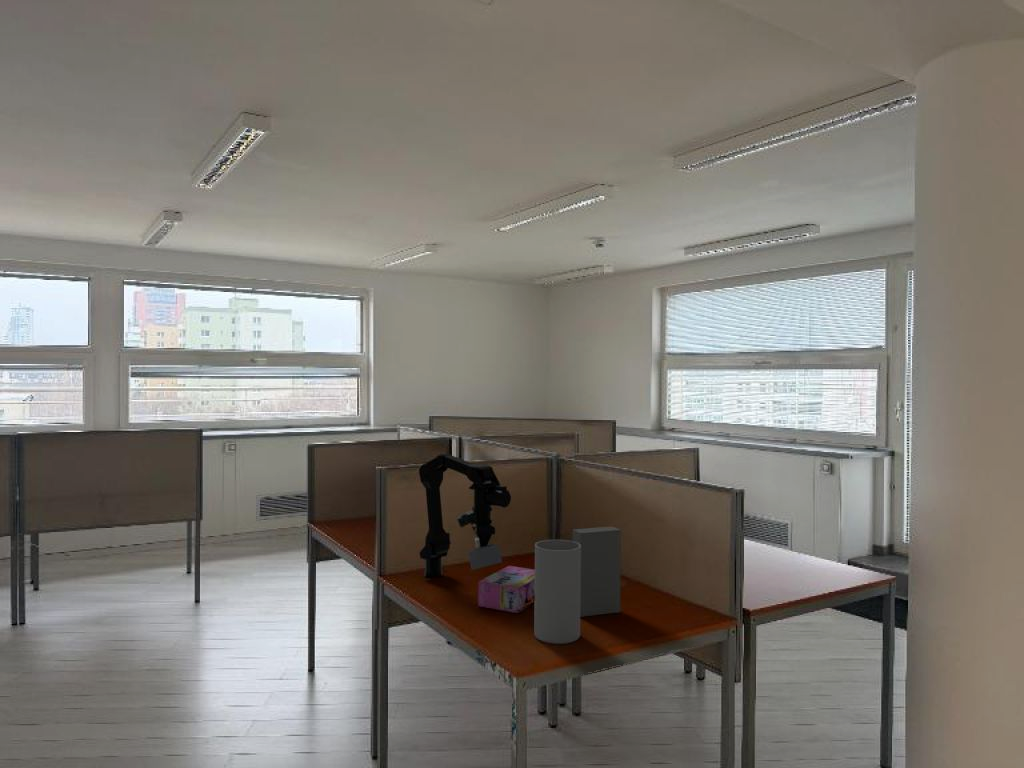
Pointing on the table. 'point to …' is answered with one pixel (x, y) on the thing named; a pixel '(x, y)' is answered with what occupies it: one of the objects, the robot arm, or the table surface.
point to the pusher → (484, 555)
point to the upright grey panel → (599, 570)
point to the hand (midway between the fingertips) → (482, 550)
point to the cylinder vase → (557, 591)
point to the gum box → (507, 589)
